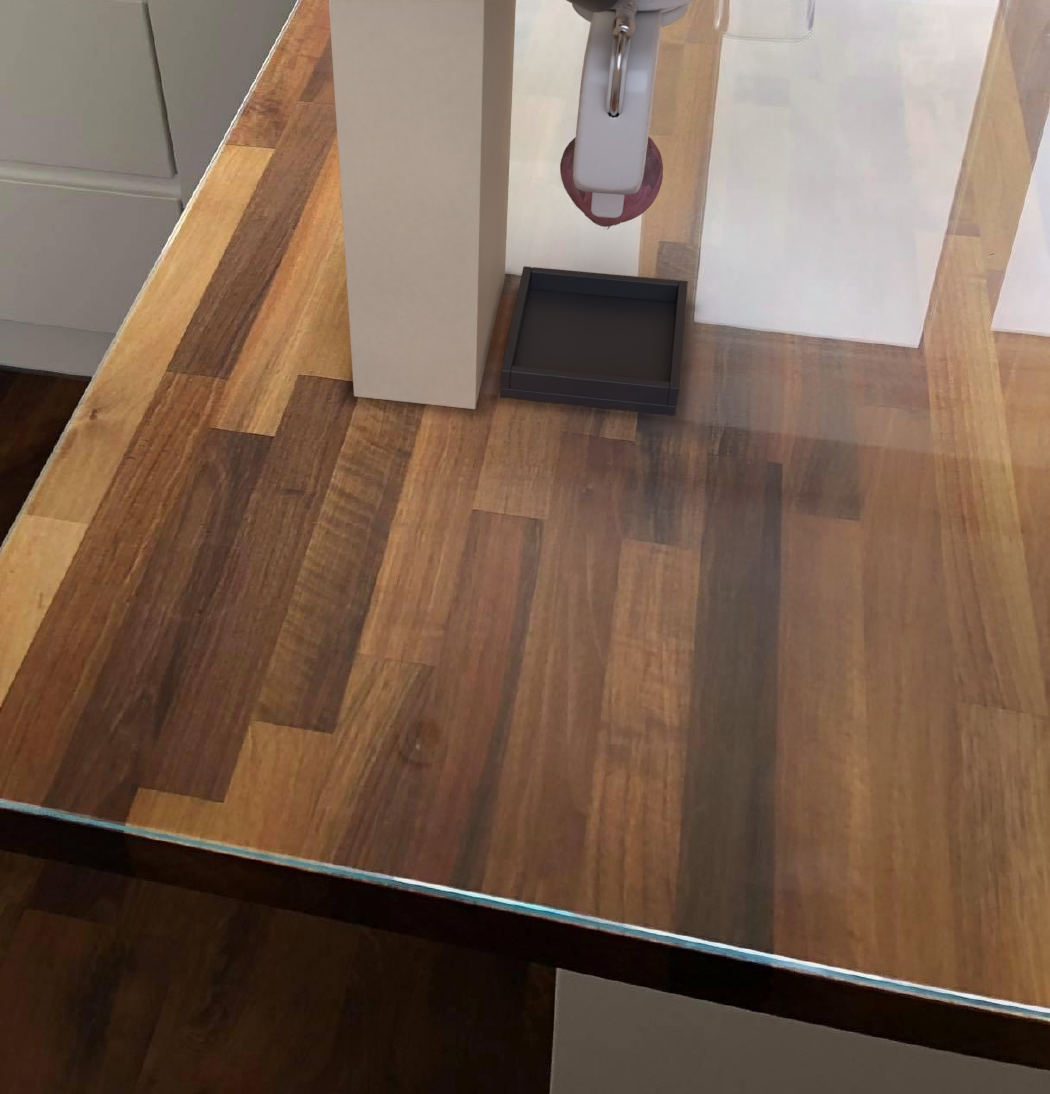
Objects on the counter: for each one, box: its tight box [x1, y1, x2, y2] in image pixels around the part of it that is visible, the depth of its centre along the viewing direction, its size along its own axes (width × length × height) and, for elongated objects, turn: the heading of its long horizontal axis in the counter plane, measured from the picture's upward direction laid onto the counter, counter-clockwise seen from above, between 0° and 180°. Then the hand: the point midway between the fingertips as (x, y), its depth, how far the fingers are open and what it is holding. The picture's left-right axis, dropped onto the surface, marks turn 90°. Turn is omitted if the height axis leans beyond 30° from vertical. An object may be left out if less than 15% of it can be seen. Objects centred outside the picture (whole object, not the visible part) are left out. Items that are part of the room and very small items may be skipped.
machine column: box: [328, 0, 517, 410], centre depth 83 cm, size 9×15×30 cm, turn 169°
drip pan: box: [499, 265, 689, 417], centre depth 91 cm, size 11×11×2 cm
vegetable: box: [559, 136, 664, 230], centre depth 81 cm, size 6×6×10 cm
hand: (612, 173), depth 82 cm, fingers closed on vegetable, 6 cm apart
